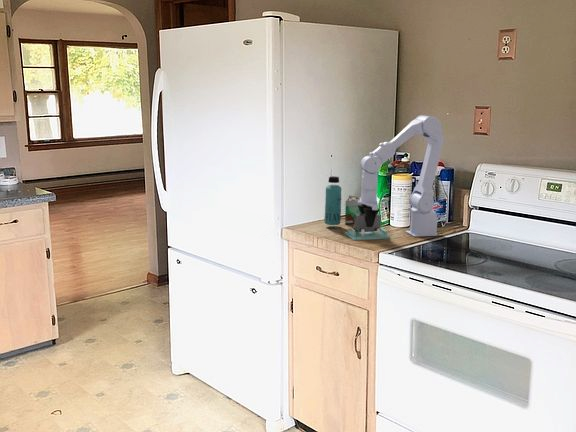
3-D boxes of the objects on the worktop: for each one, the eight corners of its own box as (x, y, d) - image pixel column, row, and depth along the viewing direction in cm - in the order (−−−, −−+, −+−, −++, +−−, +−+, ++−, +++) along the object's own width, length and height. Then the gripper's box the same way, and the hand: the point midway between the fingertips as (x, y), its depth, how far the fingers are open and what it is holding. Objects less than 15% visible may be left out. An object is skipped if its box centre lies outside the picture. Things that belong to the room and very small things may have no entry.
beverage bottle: (322, 228, 238) (324, 177, 234) (325, 224, 244) (326, 175, 240) (339, 229, 237) (341, 178, 232) (341, 225, 243) (343, 175, 239)
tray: (379, 231, 234) (380, 223, 233) (390, 238, 224) (390, 229, 223) (344, 233, 230) (345, 224, 230) (353, 240, 221) (354, 231, 220)
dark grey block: (376, 228, 230) (377, 212, 228) (380, 231, 226) (381, 215, 224) (353, 229, 228) (354, 213, 226) (357, 232, 224) (357, 216, 222)
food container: (360, 226, 242) (361, 201, 240) (344, 225, 243) (345, 200, 241) (362, 219, 254) (363, 195, 252) (348, 218, 255) (348, 195, 253)
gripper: (352, 186, 229) (350, 221, 232) (365, 193, 216) (364, 230, 219) (369, 185, 231) (368, 220, 234) (384, 192, 217) (382, 229, 220)
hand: (367, 225), depth 226 cm, fingers closed on dark grey block, 4 cm apart
